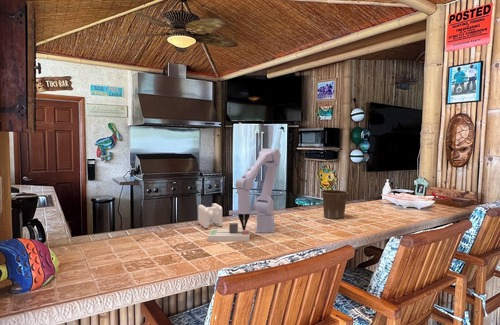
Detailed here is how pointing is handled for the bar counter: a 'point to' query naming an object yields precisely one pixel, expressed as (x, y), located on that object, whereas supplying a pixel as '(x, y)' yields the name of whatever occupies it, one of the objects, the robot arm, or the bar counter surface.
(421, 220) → the bar counter surface
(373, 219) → the bar counter surface
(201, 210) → the cable organizer
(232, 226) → the knob
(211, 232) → the switch plate
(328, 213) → the plant pot
